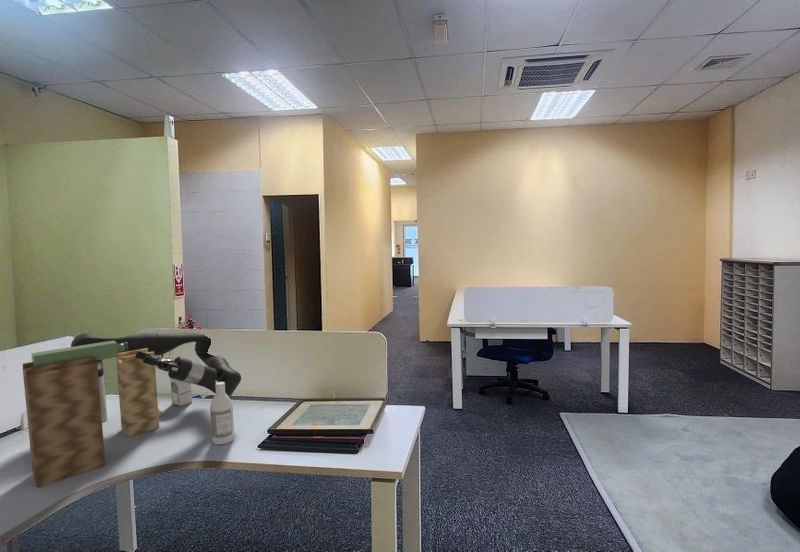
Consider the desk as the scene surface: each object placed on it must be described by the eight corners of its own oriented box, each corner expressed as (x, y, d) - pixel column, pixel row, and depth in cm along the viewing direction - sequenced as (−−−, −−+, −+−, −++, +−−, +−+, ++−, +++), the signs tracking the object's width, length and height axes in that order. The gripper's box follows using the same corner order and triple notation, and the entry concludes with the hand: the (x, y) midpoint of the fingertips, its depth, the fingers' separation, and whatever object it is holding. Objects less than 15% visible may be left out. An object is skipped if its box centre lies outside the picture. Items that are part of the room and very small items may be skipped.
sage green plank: (34, 371, 121) (33, 356, 120) (32, 368, 124) (31, 353, 123) (129, 354, 137) (128, 340, 137) (125, 352, 140) (124, 338, 140)
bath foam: (216, 436, 150) (213, 379, 149) (236, 435, 151) (234, 379, 149) (208, 445, 144) (205, 387, 142) (229, 445, 144) (226, 386, 142)
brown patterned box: (37, 487, 121) (25, 370, 117) (32, 474, 127) (22, 362, 124) (105, 465, 132) (96, 357, 129) (97, 454, 139) (89, 351, 136)
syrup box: (192, 402, 182) (190, 368, 180) (179, 406, 177) (177, 372, 175) (184, 399, 185) (182, 366, 183) (171, 404, 180) (169, 369, 178)
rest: (127, 436, 151) (121, 357, 148) (121, 429, 156) (115, 353, 154) (159, 427, 158) (154, 352, 155) (152, 421, 163) (147, 348, 161)
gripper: (184, 356, 158) (139, 342, 147) (199, 364, 148) (152, 349, 137) (174, 376, 156) (128, 363, 145) (189, 385, 146) (140, 372, 135)
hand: (140, 356), depth 141 cm, fingers open, 8 cm apart
